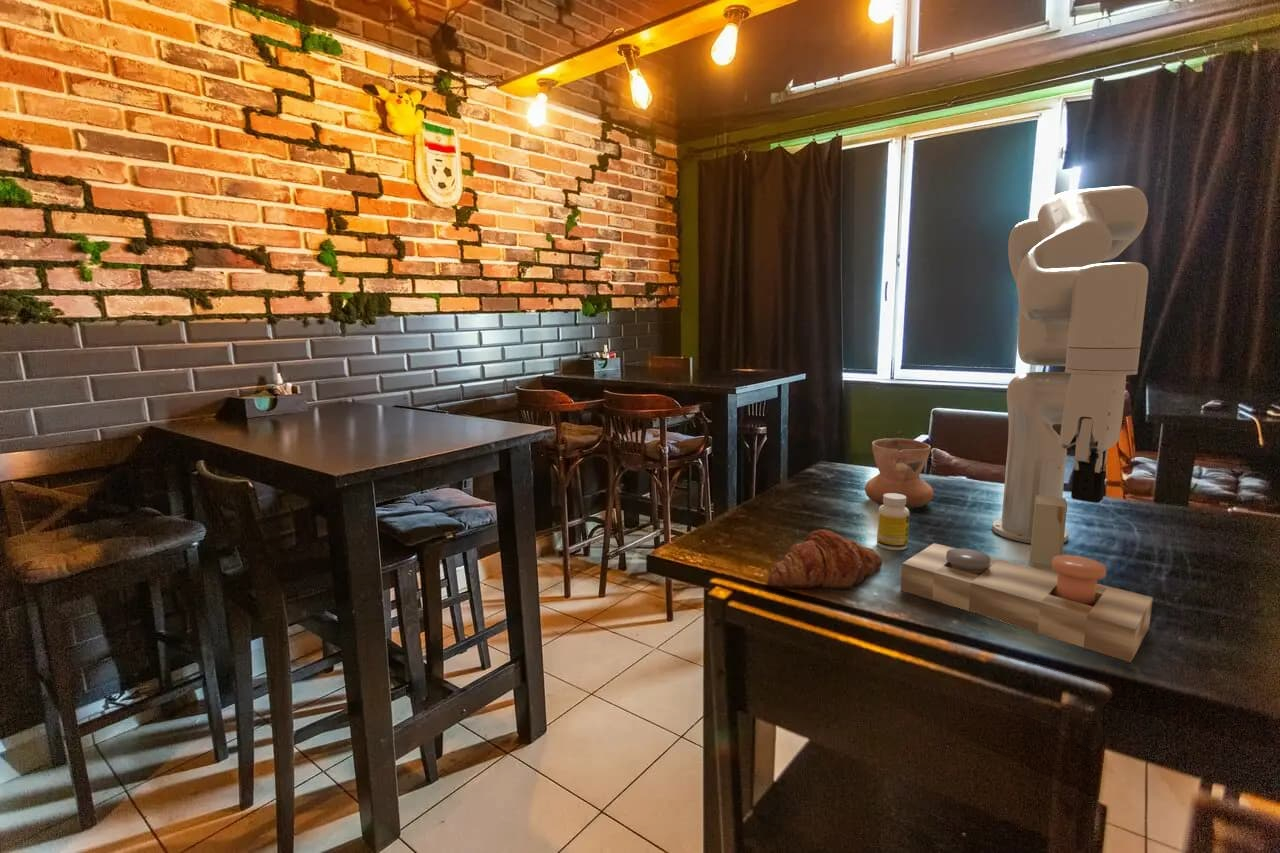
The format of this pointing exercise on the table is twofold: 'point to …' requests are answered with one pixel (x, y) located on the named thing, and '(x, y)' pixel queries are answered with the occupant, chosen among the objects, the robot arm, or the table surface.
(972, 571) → the grey knob
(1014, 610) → the button console
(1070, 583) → the terracotta button
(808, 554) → the pastry
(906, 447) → the ceramic jug
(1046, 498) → the skincare box
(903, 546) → the supplement bottle
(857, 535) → the table surface
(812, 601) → the table surface
